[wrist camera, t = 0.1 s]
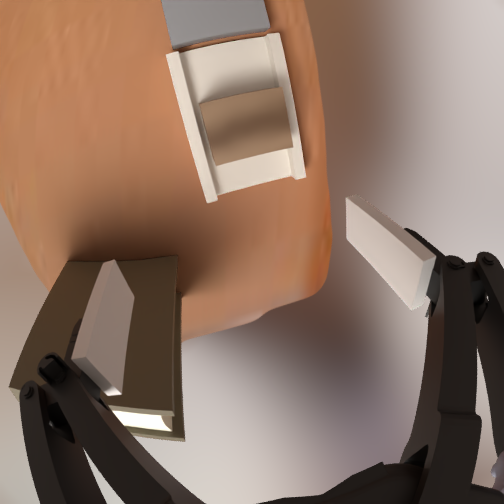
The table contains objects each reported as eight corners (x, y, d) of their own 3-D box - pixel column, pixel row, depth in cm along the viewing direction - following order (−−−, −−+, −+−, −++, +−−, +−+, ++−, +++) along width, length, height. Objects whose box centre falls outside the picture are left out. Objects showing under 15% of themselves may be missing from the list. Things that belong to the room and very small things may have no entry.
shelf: (167, 57, 30) (165, 54, 27) (272, 36, 30) (279, 32, 28) (205, 196, 42) (207, 203, 39) (298, 171, 43) (305, 177, 40)
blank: (198, 103, 33) (199, 104, 28) (269, 88, 34) (282, 86, 29) (212, 156, 38) (216, 166, 33) (279, 139, 38) (293, 147, 33)
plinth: (160, -6, 24) (158, -13, 21) (250, -22, 24) (255, -29, 22) (173, 49, 29) (171, 45, 27) (264, 31, 30) (270, 27, 27)
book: (78, 299, 47) (39, 425, 23) (65, 259, 42) (3, 389, 18) (181, 297, 51) (185, 441, 27) (177, 255, 46) (172, 410, 22)
